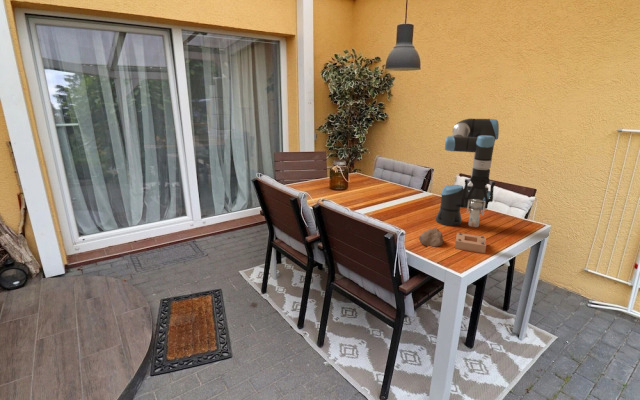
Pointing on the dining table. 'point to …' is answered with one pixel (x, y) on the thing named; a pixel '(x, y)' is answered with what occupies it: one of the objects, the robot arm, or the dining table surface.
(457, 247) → the housing
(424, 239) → the stone
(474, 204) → the grey metal plug
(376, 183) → the dining table surface
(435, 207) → the dining table surface
